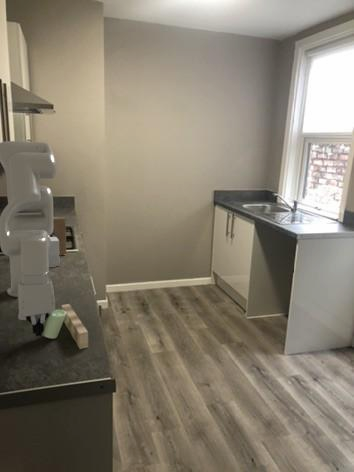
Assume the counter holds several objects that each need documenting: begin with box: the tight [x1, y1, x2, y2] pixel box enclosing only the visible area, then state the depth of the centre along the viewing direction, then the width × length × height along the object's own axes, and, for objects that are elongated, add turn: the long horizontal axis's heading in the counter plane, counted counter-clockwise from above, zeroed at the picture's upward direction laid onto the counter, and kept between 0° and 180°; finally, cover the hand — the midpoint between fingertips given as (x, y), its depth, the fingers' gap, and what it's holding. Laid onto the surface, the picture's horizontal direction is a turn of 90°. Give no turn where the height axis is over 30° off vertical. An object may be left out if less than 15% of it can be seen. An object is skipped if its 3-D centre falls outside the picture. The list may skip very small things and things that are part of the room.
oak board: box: [61, 303, 89, 350], centre depth 122 cm, size 22×2×5 cm, turn 30°
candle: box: [42, 309, 66, 339], centre depth 118 cm, size 5×5×8 cm
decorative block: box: [52, 216, 67, 256], centre depth 199 cm, size 11×6×20 cm, turn 113°
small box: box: [48, 236, 61, 268], centre depth 184 cm, size 8×6×13 cm
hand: (38, 334), depth 116 cm, fingers closed
